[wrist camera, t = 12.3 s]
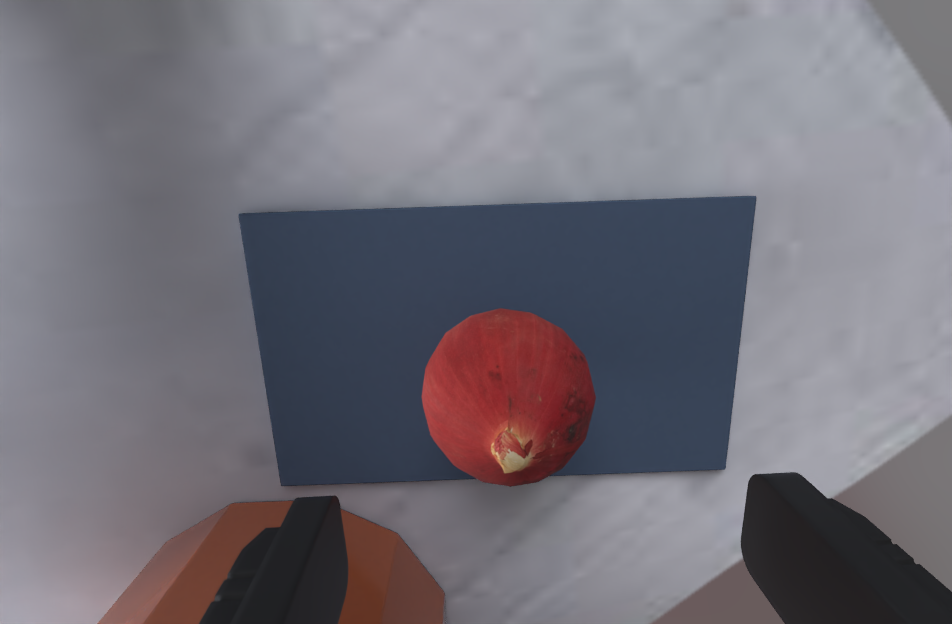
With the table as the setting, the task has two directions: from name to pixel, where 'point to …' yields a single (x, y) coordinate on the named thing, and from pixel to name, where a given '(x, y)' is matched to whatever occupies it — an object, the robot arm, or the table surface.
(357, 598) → the pot
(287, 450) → the placemat
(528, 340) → the pomegranate
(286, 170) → the table surface
